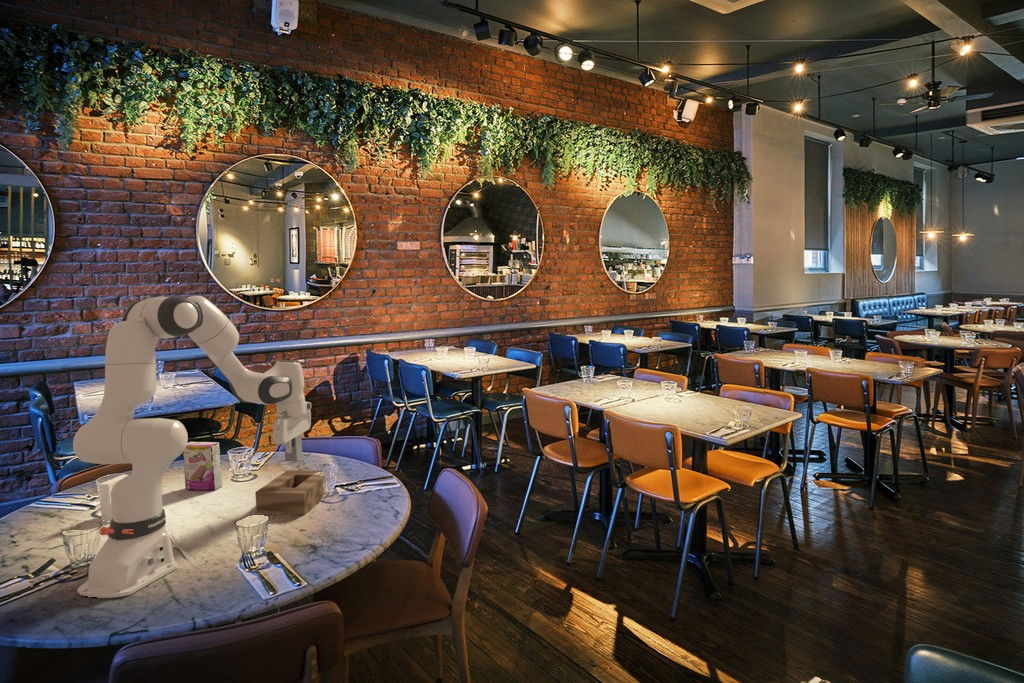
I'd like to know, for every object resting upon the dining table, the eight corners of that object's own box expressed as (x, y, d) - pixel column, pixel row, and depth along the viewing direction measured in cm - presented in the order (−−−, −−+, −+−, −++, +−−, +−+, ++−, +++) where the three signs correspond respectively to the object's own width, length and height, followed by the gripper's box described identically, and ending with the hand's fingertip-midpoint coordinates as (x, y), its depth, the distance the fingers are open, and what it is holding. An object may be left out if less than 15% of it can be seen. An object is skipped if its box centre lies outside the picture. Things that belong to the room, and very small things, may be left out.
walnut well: (305, 514, 194) (304, 493, 193) (256, 513, 196) (255, 492, 195) (332, 490, 216) (331, 470, 215) (288, 489, 217) (287, 469, 217)
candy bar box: (184, 490, 218) (181, 445, 216) (193, 485, 223) (190, 441, 221) (215, 491, 217) (211, 445, 215) (223, 486, 222) (219, 441, 220)
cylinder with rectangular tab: (119, 522, 190) (116, 485, 189) (94, 521, 192) (91, 483, 191) (142, 511, 199) (139, 475, 198) (118, 510, 201) (115, 474, 199)
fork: (192, 570, 159) (192, 563, 159) (161, 543, 176) (161, 537, 176) (205, 566, 162) (205, 559, 161) (173, 539, 178) (173, 533, 178)
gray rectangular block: (297, 461, 202) (295, 437, 201) (285, 461, 202) (283, 437, 202) (302, 457, 206) (301, 434, 205) (290, 457, 206) (289, 433, 206)
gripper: (285, 416, 192) (288, 459, 193) (313, 402, 212) (315, 441, 214) (266, 416, 192) (268, 459, 194) (295, 402, 213) (298, 441, 214)
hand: (293, 450), depth 204 cm, fingers closed on gray rectangular block, 4 cm apart
